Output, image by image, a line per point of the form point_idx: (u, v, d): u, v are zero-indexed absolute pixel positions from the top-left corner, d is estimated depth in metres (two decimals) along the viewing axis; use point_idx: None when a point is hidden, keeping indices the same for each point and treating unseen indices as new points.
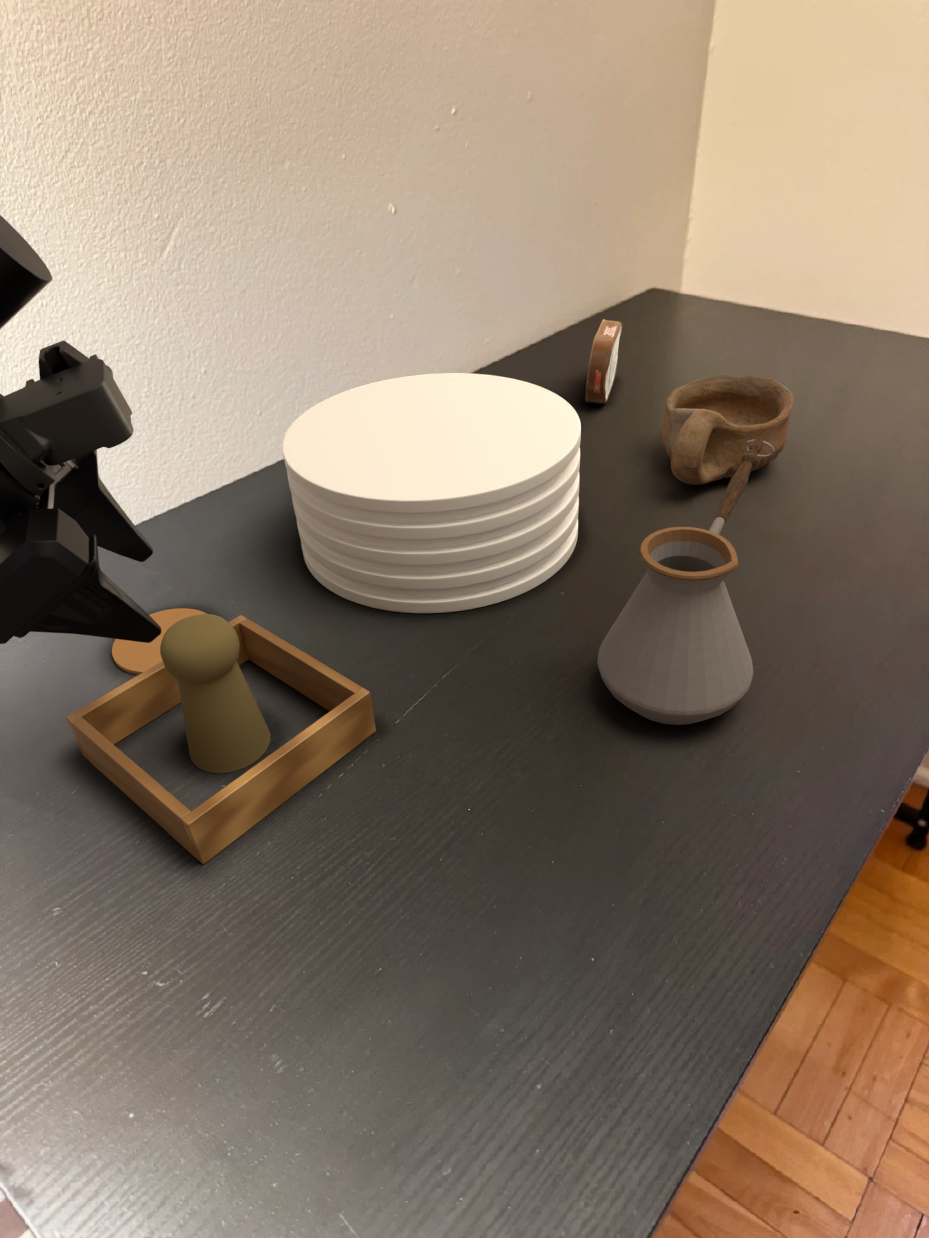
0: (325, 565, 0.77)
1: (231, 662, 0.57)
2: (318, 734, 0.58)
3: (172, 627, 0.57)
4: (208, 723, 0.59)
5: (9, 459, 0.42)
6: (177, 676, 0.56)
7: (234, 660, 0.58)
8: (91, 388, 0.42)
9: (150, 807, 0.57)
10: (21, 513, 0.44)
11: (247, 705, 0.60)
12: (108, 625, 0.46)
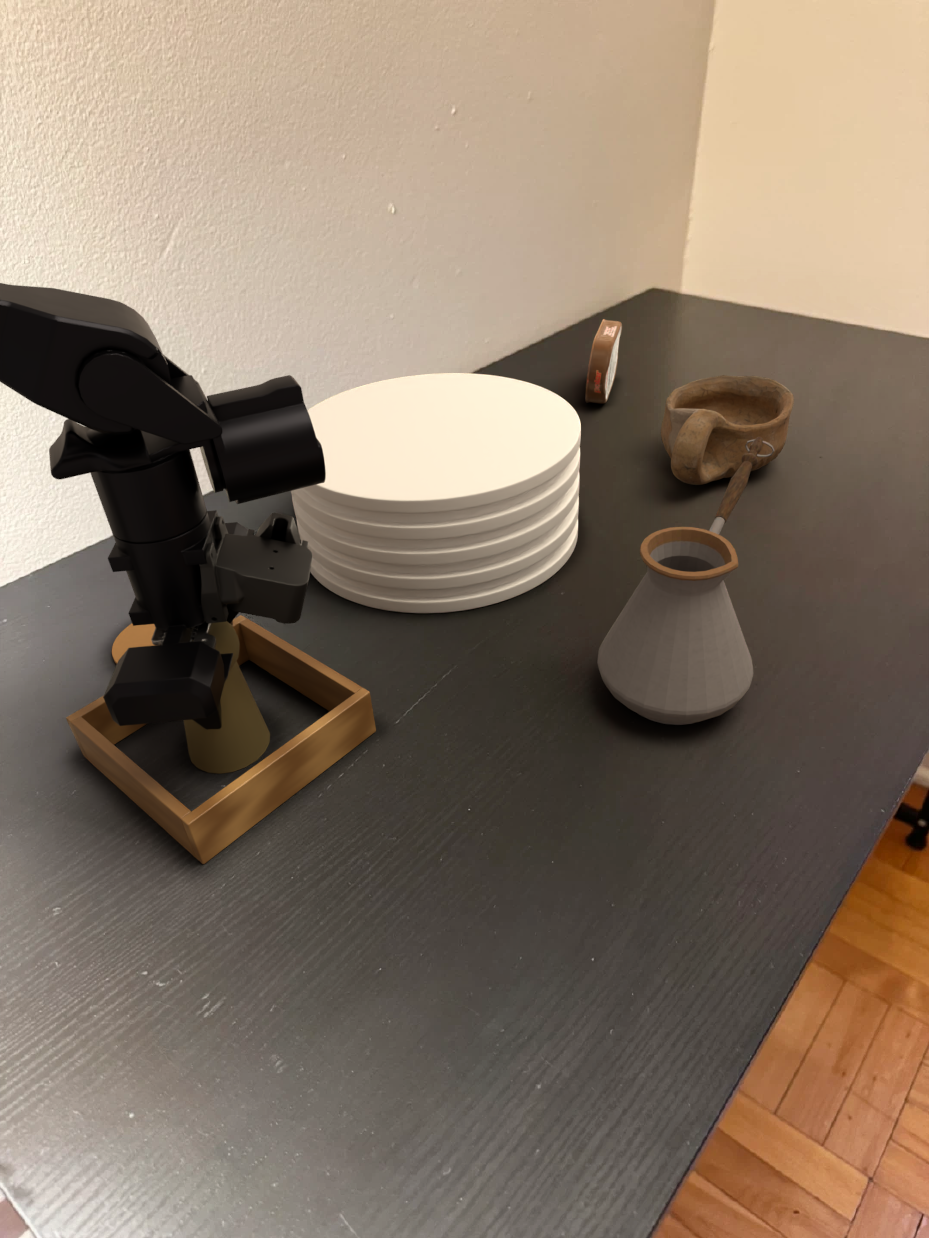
0: (325, 565, 0.77)
1: (231, 662, 0.57)
2: (318, 734, 0.58)
3: None
4: None
5: (208, 594, 0.52)
6: None
7: (234, 660, 0.58)
8: (298, 584, 0.53)
9: (150, 807, 0.57)
10: (185, 625, 0.53)
11: (246, 705, 0.60)
12: None
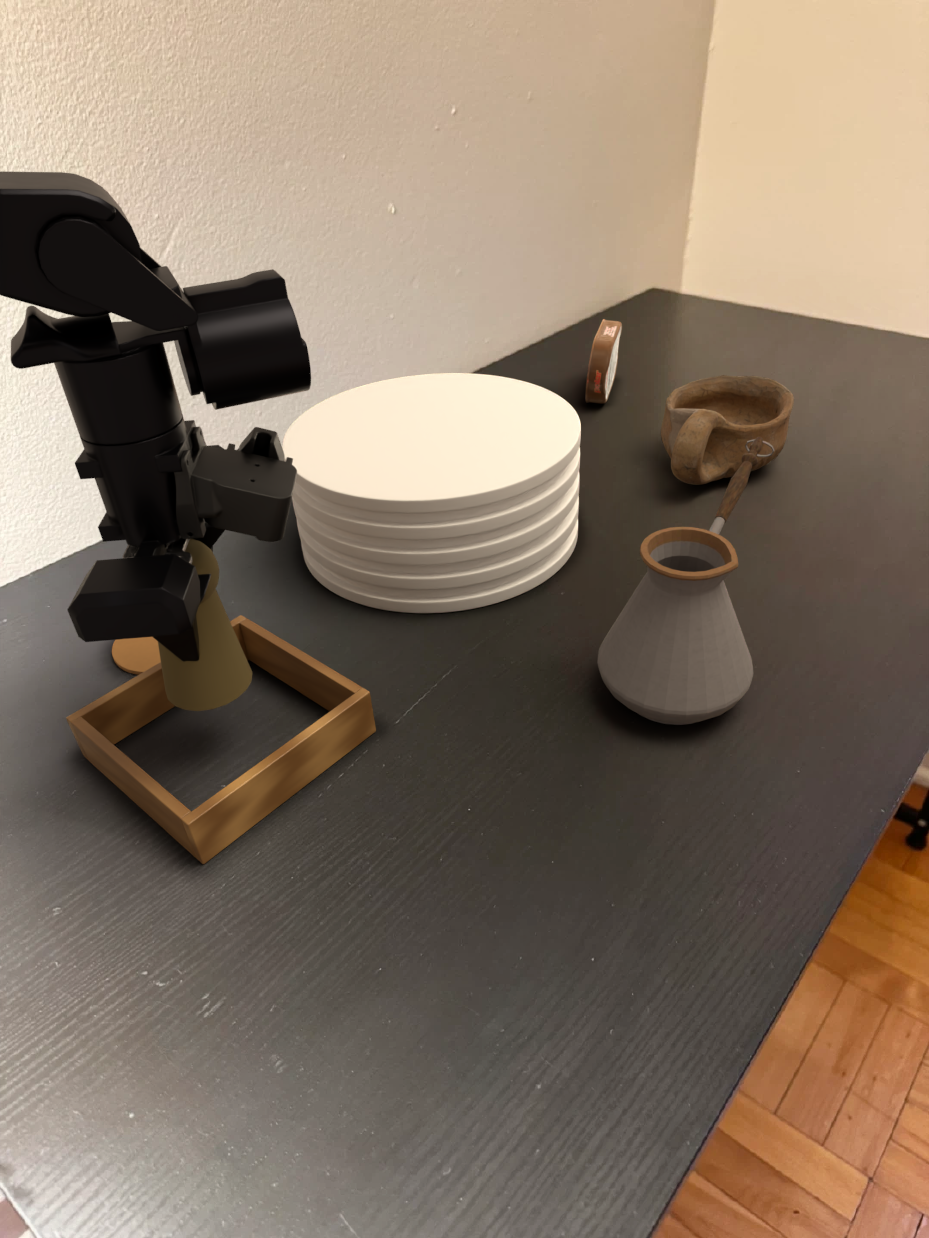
0: (325, 565, 0.77)
1: (210, 588, 0.54)
2: (318, 734, 0.58)
3: None
4: None
5: (184, 505, 0.48)
6: None
7: (213, 586, 0.54)
8: (280, 497, 0.49)
9: (150, 807, 0.57)
10: (159, 541, 0.50)
11: (227, 638, 0.56)
12: (168, 636, 0.53)
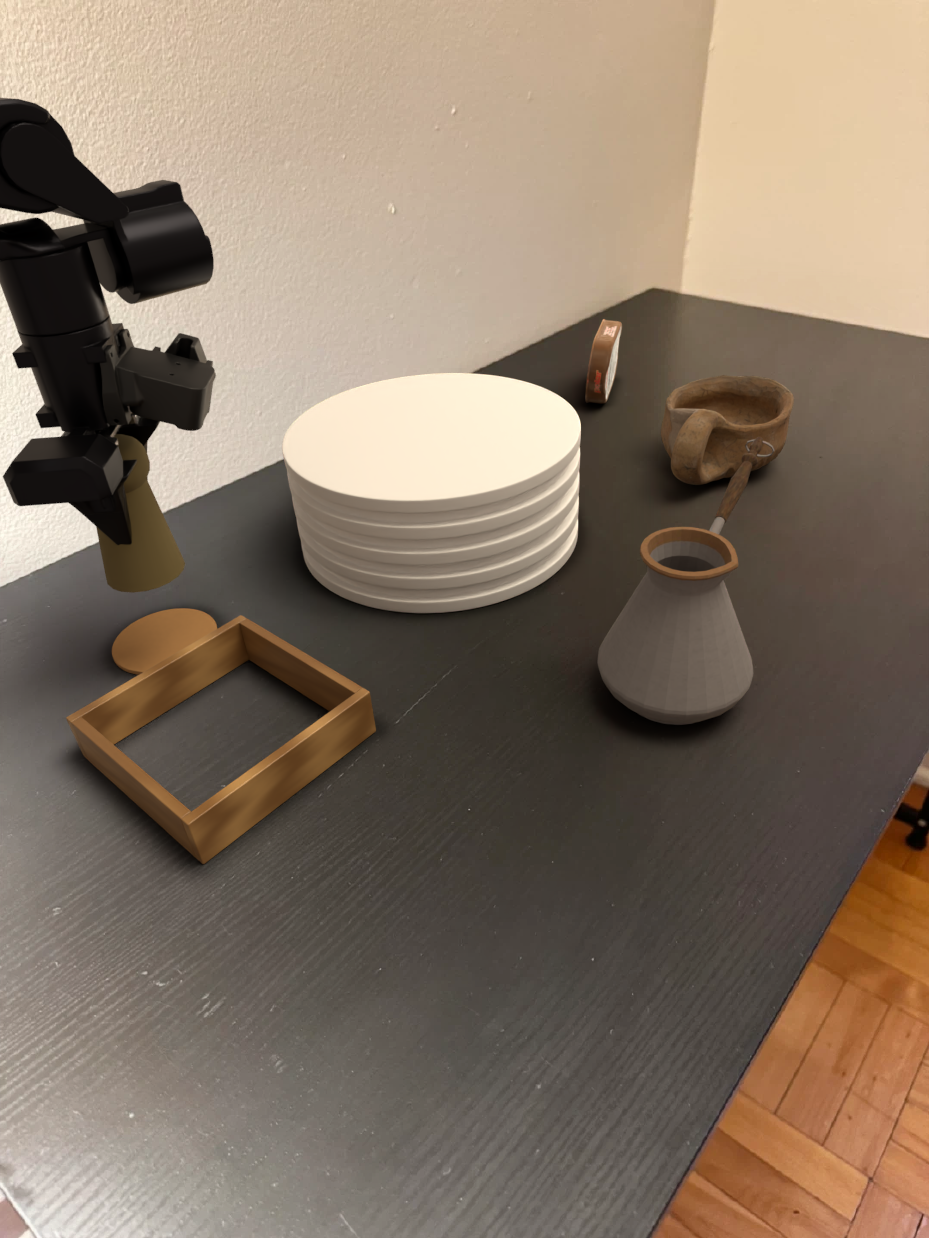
0: (325, 565, 0.77)
1: (140, 476, 0.60)
2: (318, 734, 0.58)
3: None
4: None
5: (109, 393, 0.55)
6: None
7: (143, 475, 0.61)
8: (195, 388, 0.56)
9: (150, 807, 0.57)
10: (90, 428, 0.56)
11: (158, 526, 0.63)
12: (101, 518, 0.60)
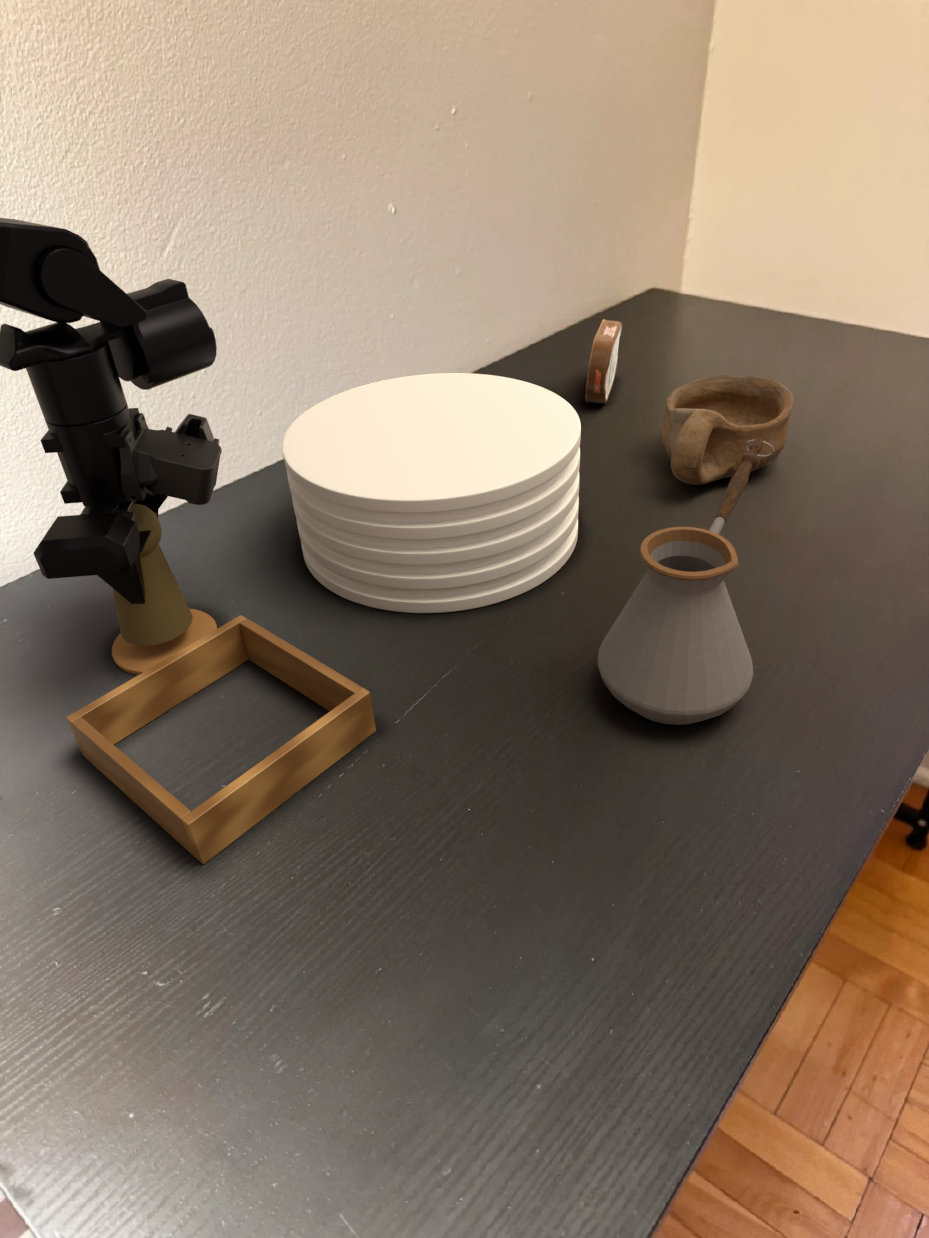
0: (325, 565, 0.77)
1: (153, 543, 0.67)
2: (318, 734, 0.58)
3: None
4: None
5: (127, 474, 0.61)
6: None
7: (155, 542, 0.67)
8: (204, 468, 0.62)
9: (150, 807, 0.57)
10: (109, 503, 0.63)
11: (168, 585, 0.69)
12: (118, 581, 0.66)
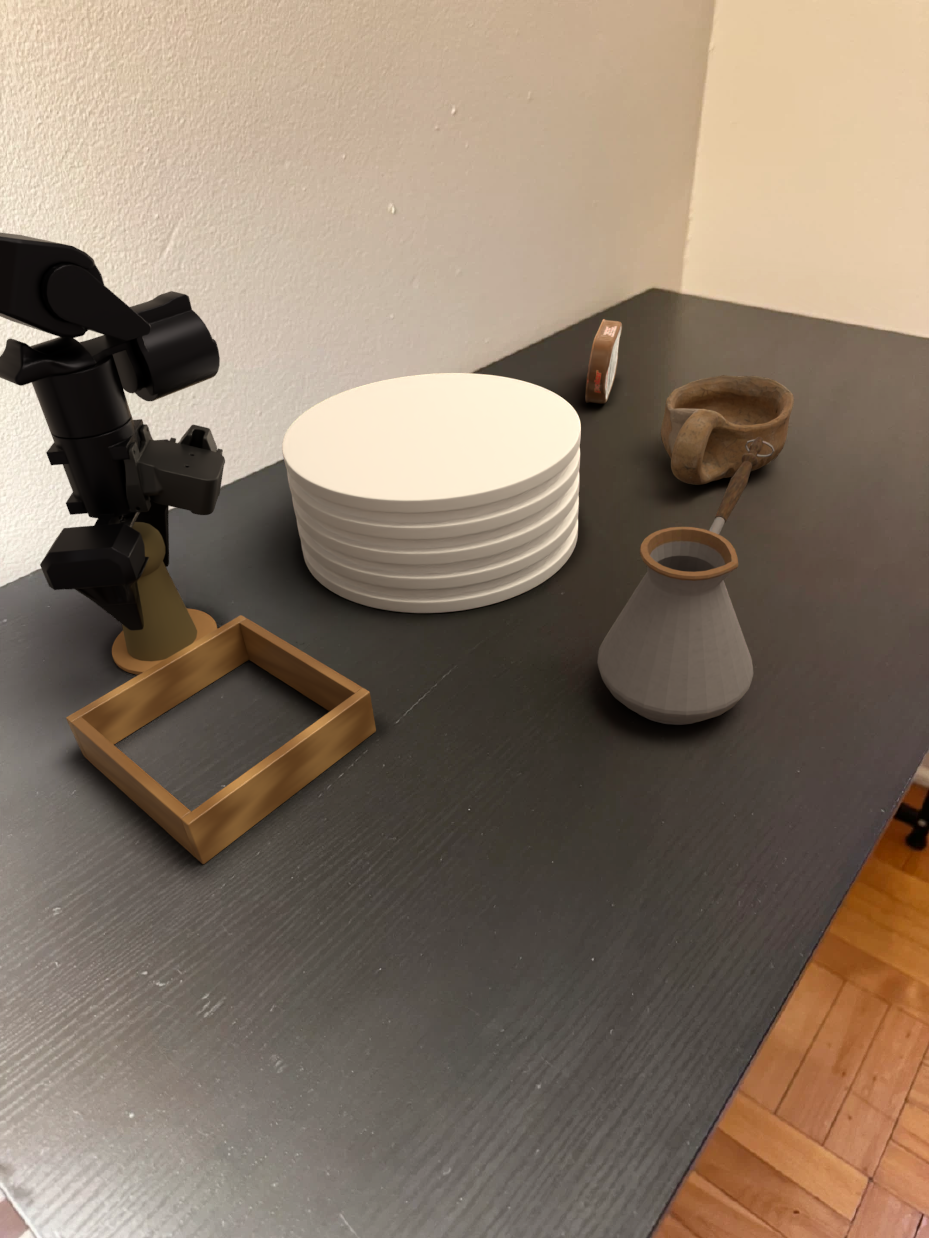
0: (325, 565, 0.77)
1: (157, 561, 0.68)
2: (318, 734, 0.58)
3: None
4: None
5: (132, 485, 0.62)
6: None
7: (159, 559, 0.68)
8: (208, 479, 0.63)
9: (150, 807, 0.57)
10: (114, 514, 0.63)
11: (173, 602, 0.70)
12: (115, 608, 0.65)
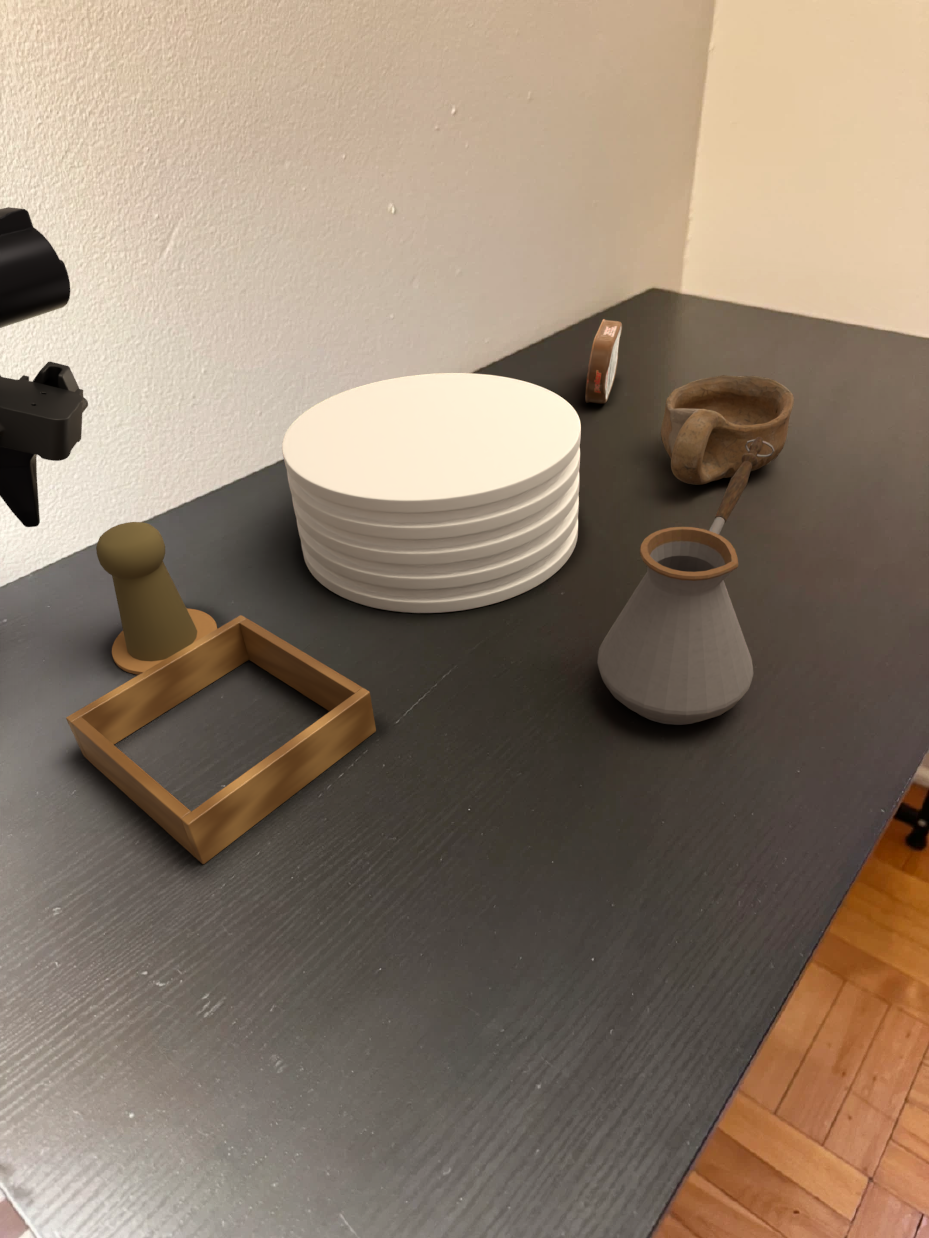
0: (325, 565, 0.77)
1: (157, 561, 0.68)
2: (318, 734, 0.58)
3: (107, 531, 0.68)
4: (138, 614, 0.69)
5: None
6: (110, 571, 0.67)
7: (159, 559, 0.68)
8: (55, 418, 0.55)
9: (150, 807, 0.57)
10: None
11: (173, 602, 0.70)
12: None
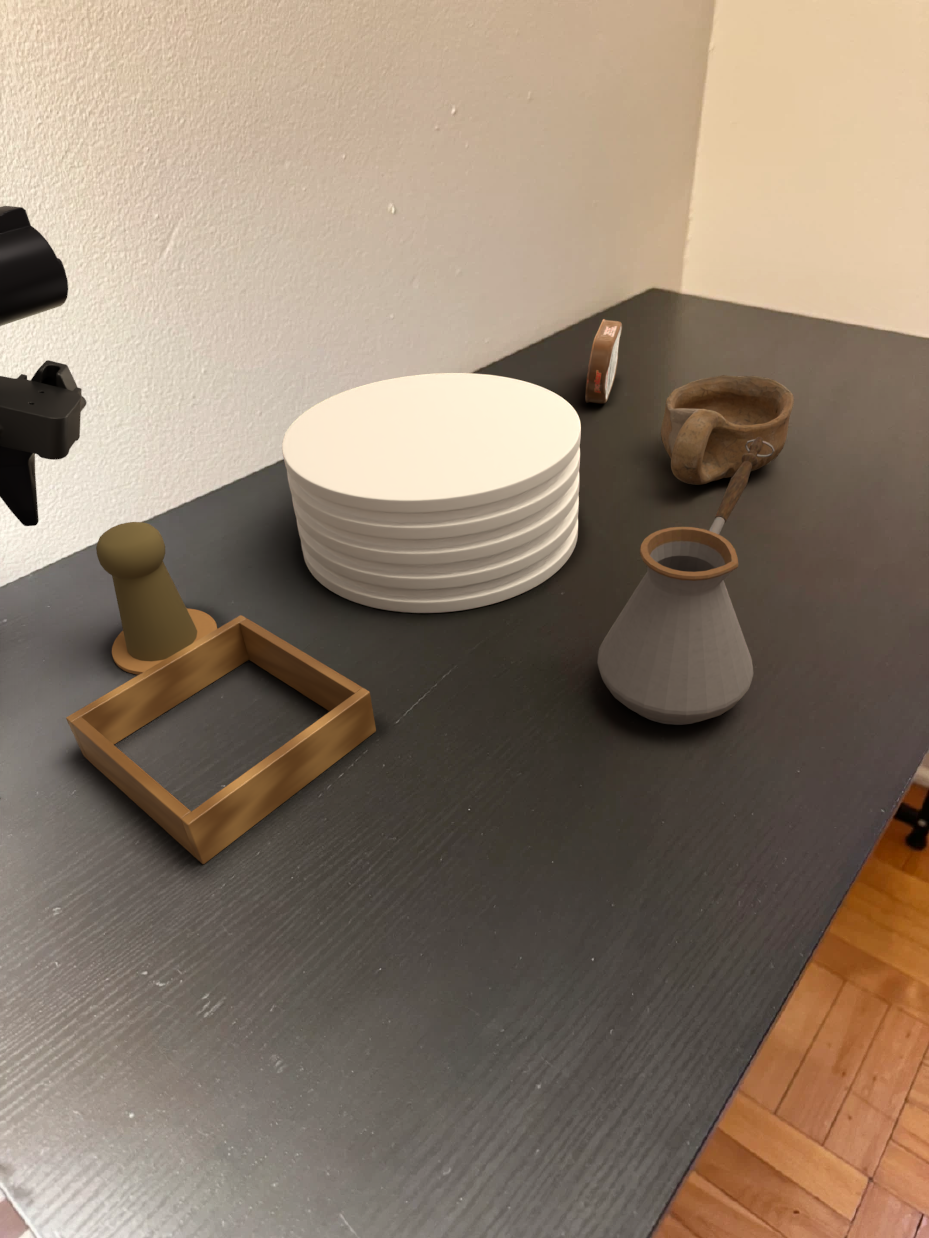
0: (325, 565, 0.77)
1: (157, 561, 0.68)
2: (318, 734, 0.58)
3: (107, 531, 0.68)
4: (138, 614, 0.69)
5: None
6: (110, 571, 0.67)
7: (159, 559, 0.68)
8: (54, 417, 0.55)
9: (150, 807, 0.57)
10: None
11: (173, 602, 0.70)
12: None
